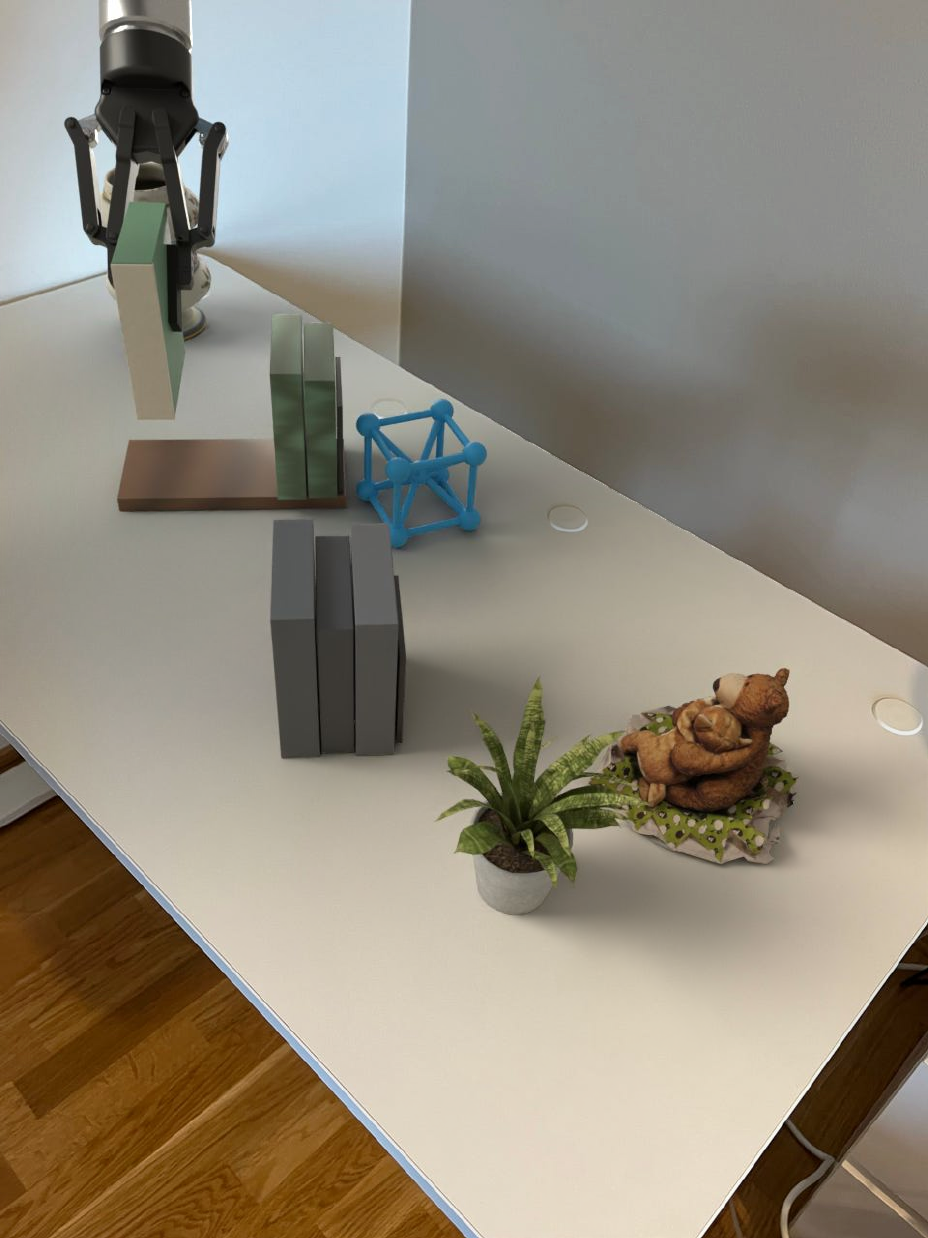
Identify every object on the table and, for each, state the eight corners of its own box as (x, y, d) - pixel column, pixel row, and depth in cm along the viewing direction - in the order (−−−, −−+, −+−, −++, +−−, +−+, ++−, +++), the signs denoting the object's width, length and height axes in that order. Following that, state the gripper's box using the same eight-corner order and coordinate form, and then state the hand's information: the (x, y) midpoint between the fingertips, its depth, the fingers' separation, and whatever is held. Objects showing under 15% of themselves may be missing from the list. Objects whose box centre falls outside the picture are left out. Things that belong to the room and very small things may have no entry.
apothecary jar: (97, 313, 131) (69, 164, 118) (188, 291, 137) (170, 146, 124) (139, 358, 124) (114, 205, 112) (232, 332, 130) (219, 184, 117)
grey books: (281, 759, 83) (270, 620, 73) (283, 656, 91) (273, 518, 81) (403, 754, 84) (409, 617, 74) (394, 653, 92) (399, 516, 82)
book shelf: (118, 514, 103) (90, 373, 93) (131, 448, 111) (107, 311, 101) (346, 511, 106) (345, 374, 96) (343, 447, 114) (342, 314, 103)
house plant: (515, 1035, 68) (546, 897, 57) (366, 899, 75) (367, 751, 64) (645, 897, 76) (694, 752, 65) (500, 785, 83) (523, 636, 72)
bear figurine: (630, 695, 91) (658, 589, 82) (804, 762, 87) (852, 657, 78) (572, 812, 81) (597, 705, 73) (764, 892, 77) (813, 790, 69)
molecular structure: (389, 554, 102) (390, 469, 95) (352, 494, 108) (352, 410, 101) (483, 532, 105) (492, 448, 98) (443, 475, 112) (448, 392, 105)
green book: (137, 421, 90) (110, 263, 80) (151, 352, 98) (128, 201, 88) (174, 421, 90) (152, 264, 81) (186, 352, 98) (166, 202, 89)
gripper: (247, 75, 95) (253, 340, 94) (58, 69, 93) (64, 338, 92) (239, 27, 87) (246, 314, 87) (34, 19, 85) (40, 312, 85)
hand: (152, 326), depth 89 cm, fingers closed on green book, 3 cm apart
